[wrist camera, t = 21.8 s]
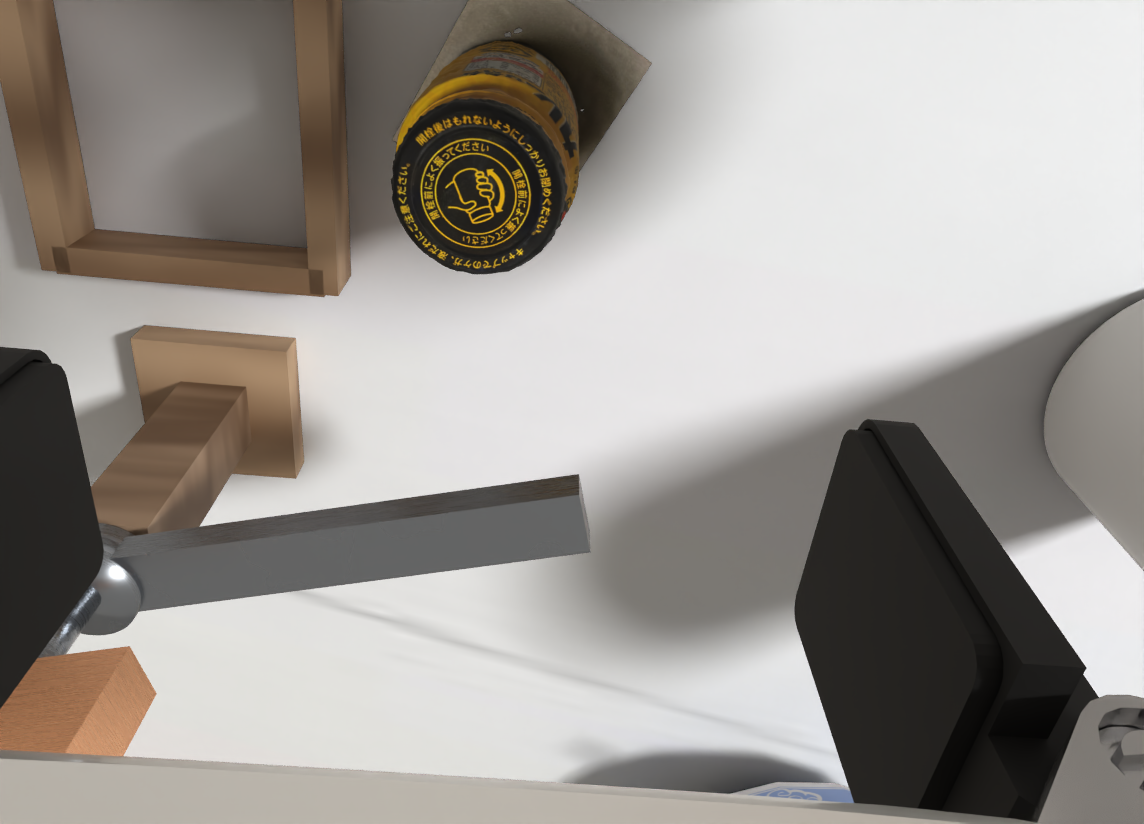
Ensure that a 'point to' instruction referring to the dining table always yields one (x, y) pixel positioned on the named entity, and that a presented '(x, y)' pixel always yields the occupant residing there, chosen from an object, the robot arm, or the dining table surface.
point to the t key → (265, 588)
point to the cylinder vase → (1104, 426)
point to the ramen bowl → (802, 791)
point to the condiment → (507, 130)
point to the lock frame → (187, 280)
